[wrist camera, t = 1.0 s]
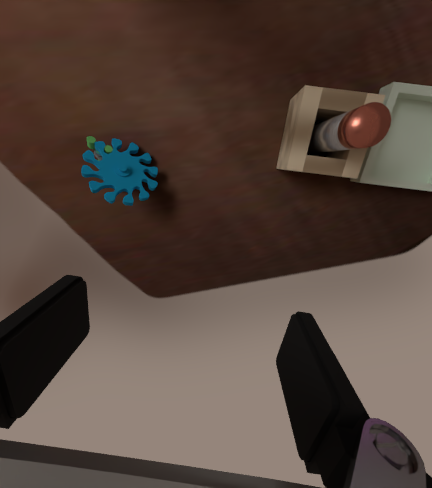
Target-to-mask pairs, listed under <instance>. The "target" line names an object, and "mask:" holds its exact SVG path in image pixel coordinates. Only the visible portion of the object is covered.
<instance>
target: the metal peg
mask: <svg viewBox="0 0 432 488" xmlns="http://www.w3.org/2000/svg"><path fill="white" fill-rule="evenodd" d="M390 125H391V114H390V111H389V109H388V108H387V107H386V106H385V105H384V104H382V103H379V102H371V103H367V104H365V105H362V106H360V107H358V108H355V109H353V110H350V111H348V112H346V113H343V114H341V115H338V116H336V117H333V118H331V119H329V120H326V121H324V122H321V123H319V124H316V125H314V127H313V131H312V135H311V139H310V143H309V147H308V151H307V152H308V153H319V152H329V151H339V150H350V149H360V148H368V147H372V146H374V145H376V144H378V143H379V142H380V141H381V140H382V139H383V138H384V137H385V136H386V134H387V133H388V131H389V128H390Z"/></svg>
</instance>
